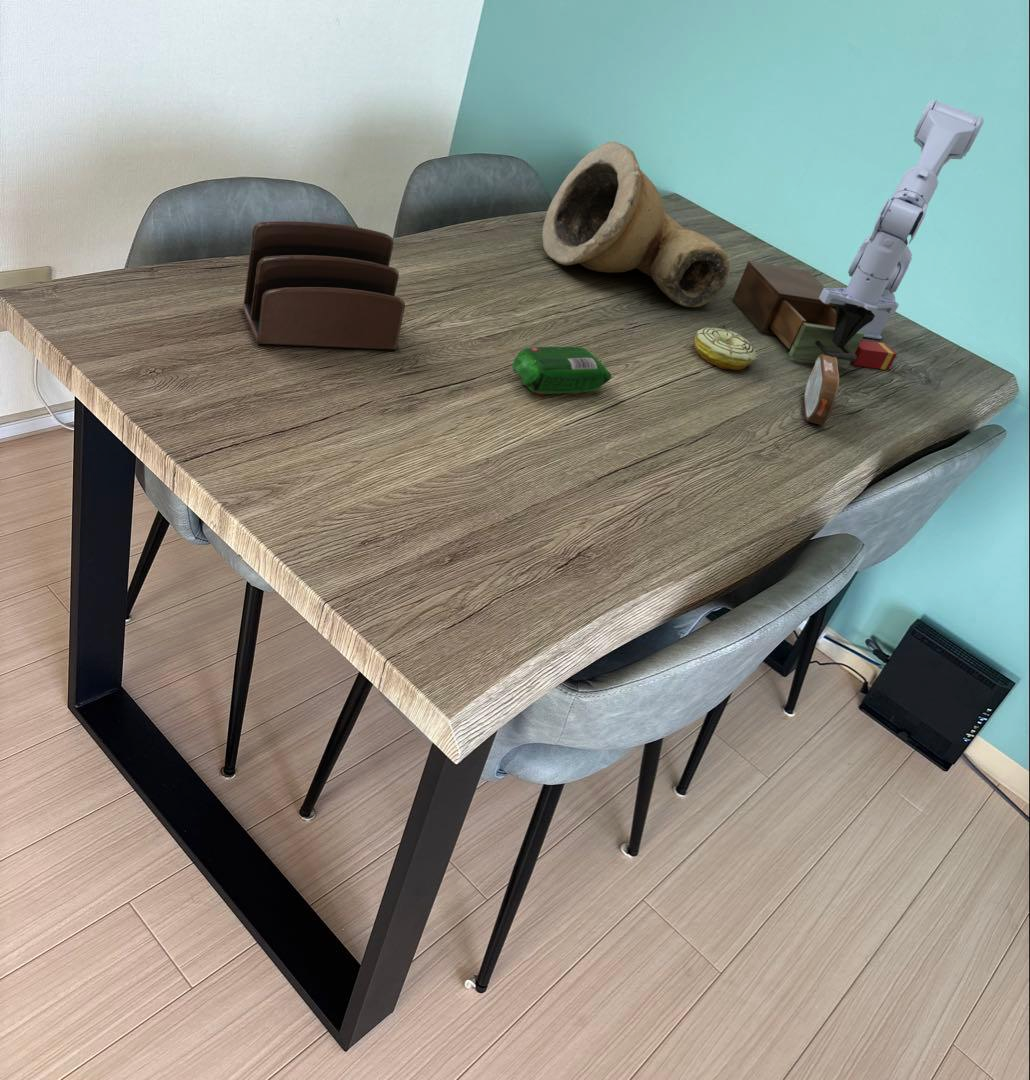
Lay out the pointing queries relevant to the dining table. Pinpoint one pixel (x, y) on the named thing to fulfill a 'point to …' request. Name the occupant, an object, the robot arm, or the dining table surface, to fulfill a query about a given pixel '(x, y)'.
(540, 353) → the snack package
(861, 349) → the chocolate bar
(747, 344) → the decorated donut
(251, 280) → the letter holder
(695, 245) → the pipe
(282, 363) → the dining table surface
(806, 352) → the drawer
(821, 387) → the tin
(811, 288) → the cabinet
